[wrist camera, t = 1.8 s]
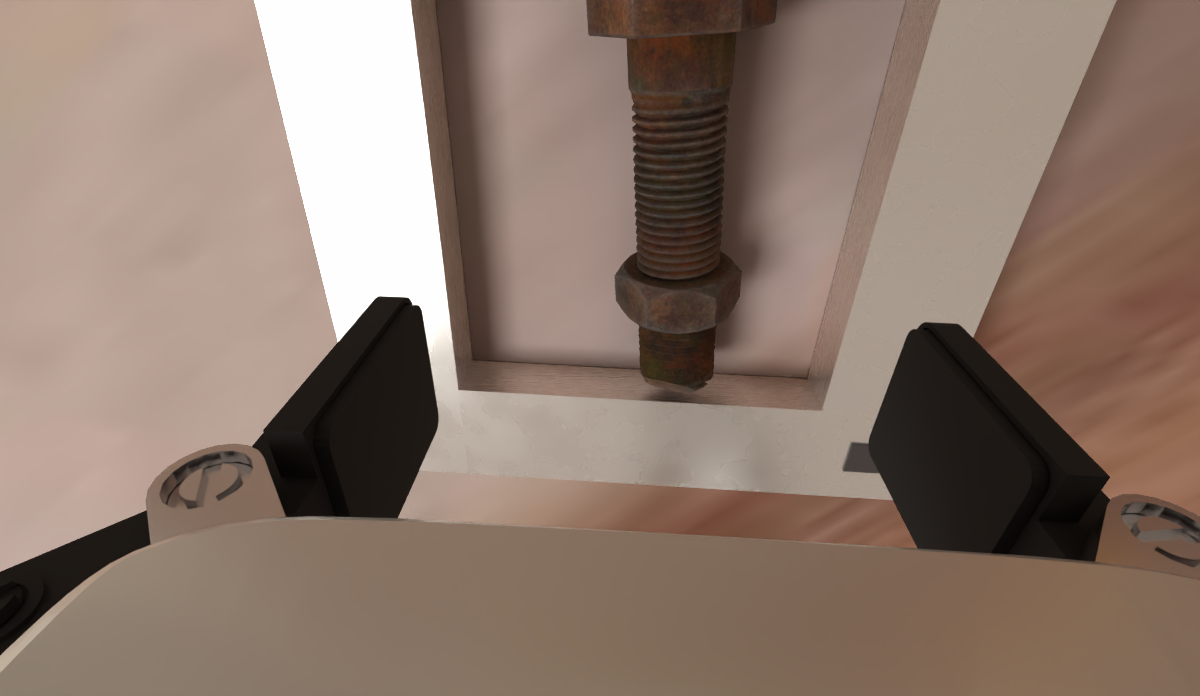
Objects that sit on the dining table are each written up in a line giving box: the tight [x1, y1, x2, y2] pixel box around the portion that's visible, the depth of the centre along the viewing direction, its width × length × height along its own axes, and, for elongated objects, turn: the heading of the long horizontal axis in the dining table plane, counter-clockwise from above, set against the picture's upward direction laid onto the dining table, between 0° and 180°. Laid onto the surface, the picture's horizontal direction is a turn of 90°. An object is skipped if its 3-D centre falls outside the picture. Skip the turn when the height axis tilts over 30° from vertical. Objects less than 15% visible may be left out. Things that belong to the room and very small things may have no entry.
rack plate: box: [255, 0, 1116, 500], centre depth 22 cm, size 26×26×3 cm
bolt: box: [587, 0, 777, 394], centre depth 21 cm, size 6×5×15 cm
